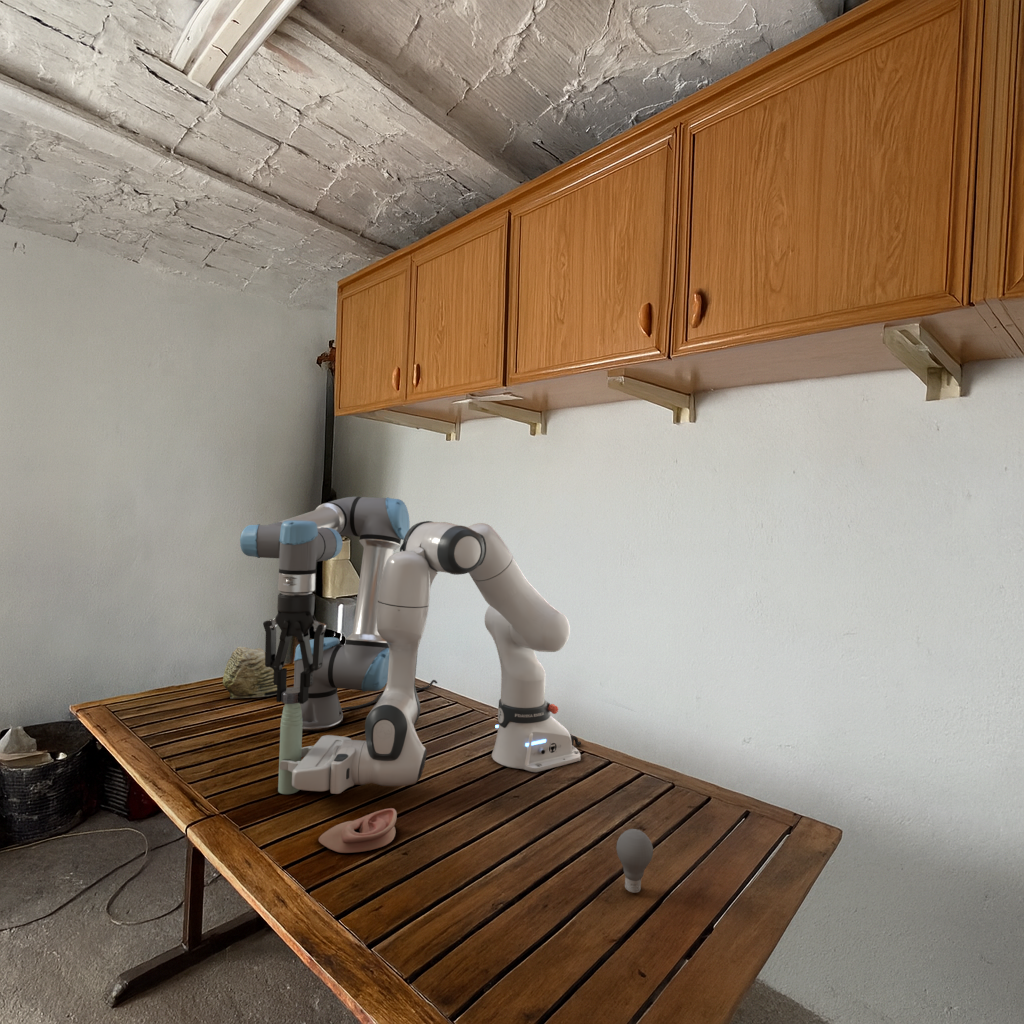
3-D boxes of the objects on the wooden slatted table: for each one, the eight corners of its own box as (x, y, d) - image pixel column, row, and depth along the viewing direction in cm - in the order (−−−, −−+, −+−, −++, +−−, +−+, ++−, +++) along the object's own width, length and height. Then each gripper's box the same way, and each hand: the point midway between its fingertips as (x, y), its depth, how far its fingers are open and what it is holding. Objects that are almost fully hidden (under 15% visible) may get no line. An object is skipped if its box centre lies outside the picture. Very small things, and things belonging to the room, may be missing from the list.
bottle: (304, 789, 137) (307, 693, 136) (285, 796, 133) (288, 698, 133) (293, 783, 140) (296, 688, 139) (274, 789, 136) (277, 693, 136)
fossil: (218, 695, 195) (220, 647, 195) (278, 685, 208) (279, 640, 207) (228, 703, 189) (230, 653, 188) (289, 692, 201) (290, 645, 201)
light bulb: (610, 879, 108) (613, 822, 108) (644, 879, 109) (647, 822, 109) (619, 902, 102) (622, 840, 102) (655, 901, 103) (658, 840, 103)
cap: (306, 702, 135) (306, 691, 135) (283, 705, 133) (284, 694, 133) (300, 696, 139) (301, 686, 139) (279, 698, 137) (279, 688, 137)
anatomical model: (310, 826, 114) (340, 797, 125) (309, 848, 114) (339, 817, 125) (379, 837, 111) (403, 806, 122) (378, 859, 111) (403, 827, 123)
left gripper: (248, 592, 133) (244, 703, 133) (328, 597, 131) (324, 709, 131) (266, 587, 140) (262, 692, 141) (342, 592, 138) (338, 698, 139)
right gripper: (362, 729, 146) (303, 726, 147) (336, 766, 126) (267, 763, 126) (361, 756, 146) (302, 753, 147) (335, 798, 126) (266, 794, 126)
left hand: (292, 700), depth 136 cm, fingers closed on cap, 4 cm apart
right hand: (286, 758), depth 136 cm, fingers closed on bottle, 4 cm apart
